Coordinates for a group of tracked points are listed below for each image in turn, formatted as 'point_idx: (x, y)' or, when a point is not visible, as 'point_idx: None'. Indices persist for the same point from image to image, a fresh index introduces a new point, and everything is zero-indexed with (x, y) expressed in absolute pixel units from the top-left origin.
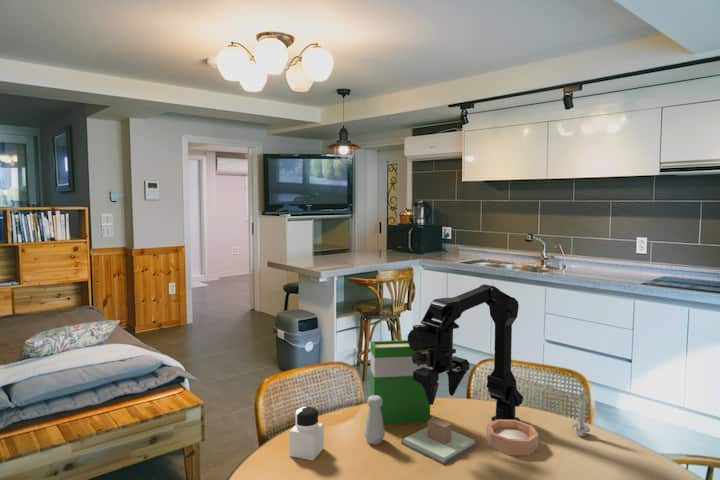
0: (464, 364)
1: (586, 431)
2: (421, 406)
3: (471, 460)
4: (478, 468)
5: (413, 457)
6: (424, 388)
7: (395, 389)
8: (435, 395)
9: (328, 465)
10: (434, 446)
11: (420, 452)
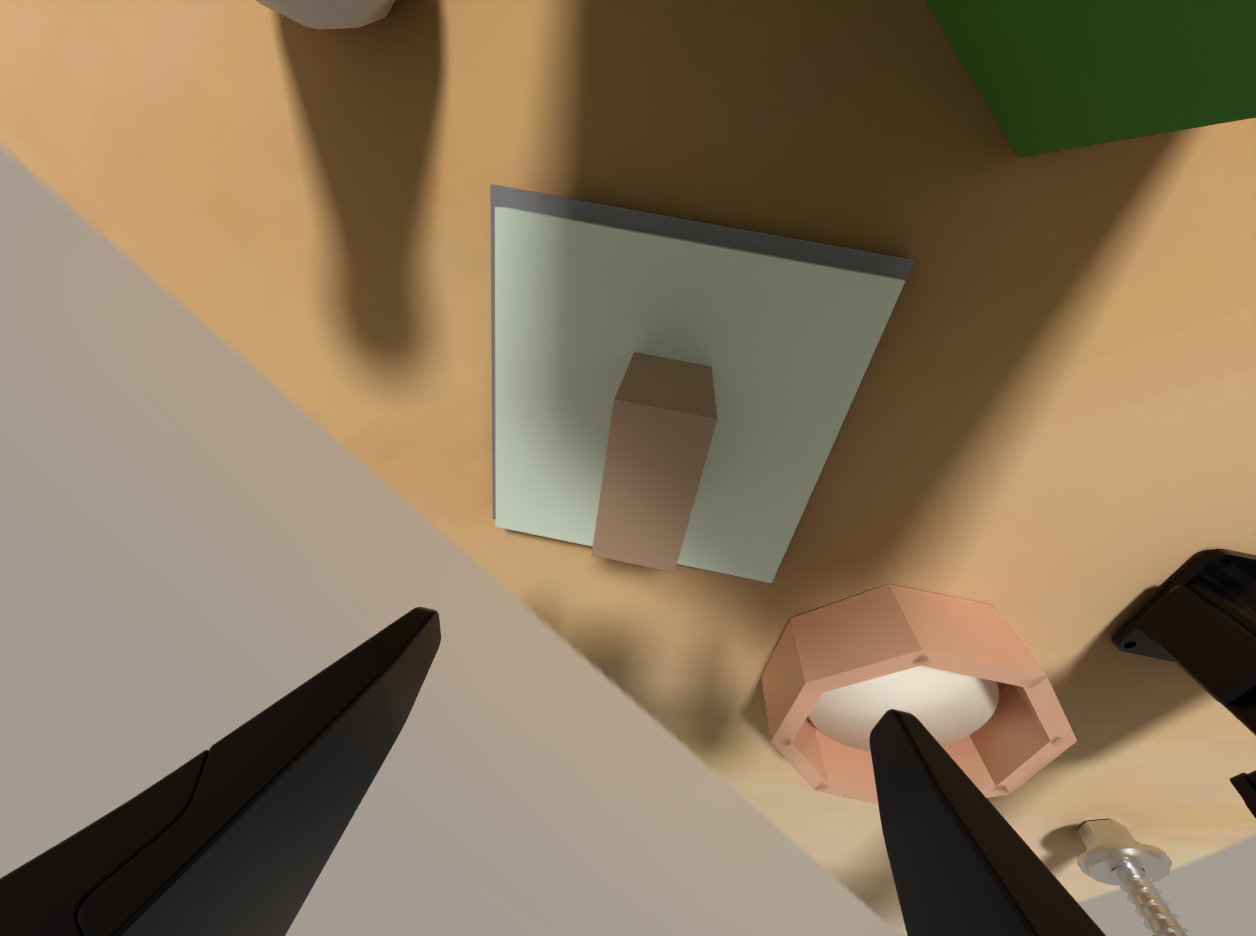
0: None
1: (1085, 873)
2: (1109, 16)
3: (620, 585)
4: (581, 618)
5: (433, 361)
6: (38, 875)
7: None
8: (327, 836)
9: None
10: (557, 443)
11: (493, 374)
